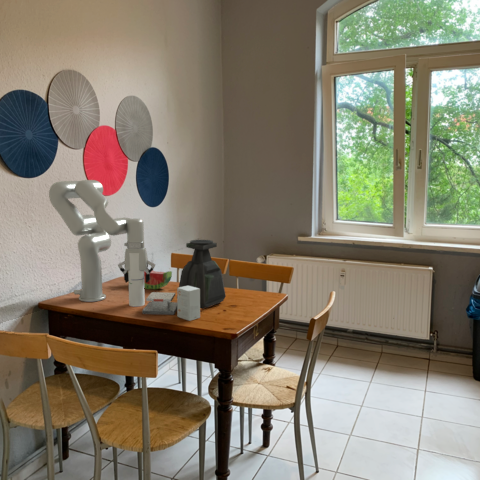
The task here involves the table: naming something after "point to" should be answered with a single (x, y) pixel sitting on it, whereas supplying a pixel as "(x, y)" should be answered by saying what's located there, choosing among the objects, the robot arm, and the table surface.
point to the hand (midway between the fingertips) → (137, 281)
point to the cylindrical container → (136, 282)
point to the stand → (160, 304)
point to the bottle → (203, 274)
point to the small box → (188, 302)
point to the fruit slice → (157, 279)
